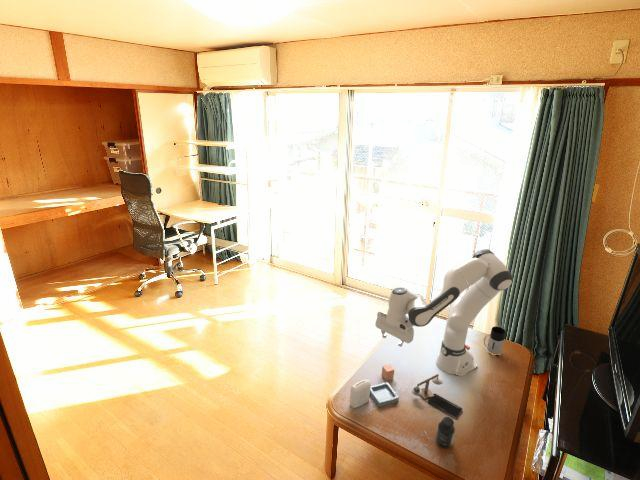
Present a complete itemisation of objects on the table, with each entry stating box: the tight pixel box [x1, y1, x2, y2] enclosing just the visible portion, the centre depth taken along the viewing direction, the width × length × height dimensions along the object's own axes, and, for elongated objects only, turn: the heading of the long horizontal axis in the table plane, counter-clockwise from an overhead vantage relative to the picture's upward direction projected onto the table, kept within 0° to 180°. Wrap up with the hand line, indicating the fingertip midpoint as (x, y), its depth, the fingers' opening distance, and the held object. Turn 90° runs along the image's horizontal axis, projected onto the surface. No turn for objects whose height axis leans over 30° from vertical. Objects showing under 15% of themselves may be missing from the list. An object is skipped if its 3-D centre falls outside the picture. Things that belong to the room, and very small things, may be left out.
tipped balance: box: [411, 373, 443, 401], centre depth 184 cm, size 17×6×11 cm, turn 111°
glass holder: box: [483, 325, 507, 354], centre depth 216 cm, size 9×14×15 cm, turn 113°
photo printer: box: [349, 379, 372, 409], centre depth 177 cm, size 10×4×12 cm, turn 123°
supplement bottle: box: [435, 416, 456, 449], centre depth 158 cm, size 7×7×12 cm
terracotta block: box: [381, 364, 395, 382], centre depth 195 cm, size 4×4×6 cm
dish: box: [370, 381, 400, 408], centre depth 183 cm, size 11×11×2 cm
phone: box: [427, 393, 463, 419], centre depth 179 cm, size 8×1×15 cm
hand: (392, 341), depth 188 cm, fingers open, 8 cm apart
